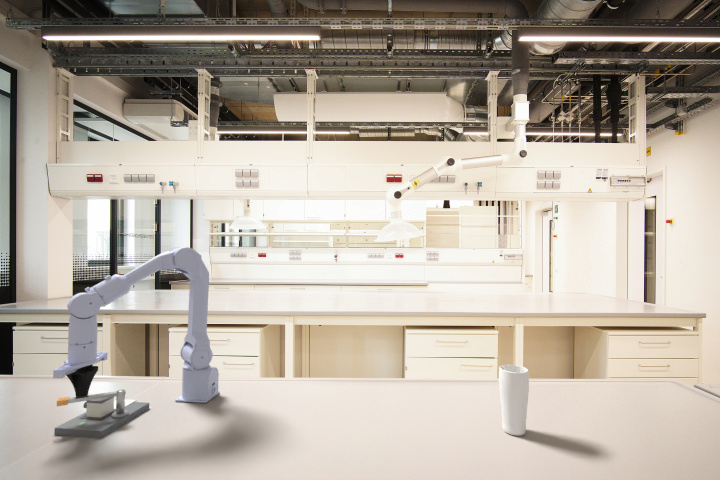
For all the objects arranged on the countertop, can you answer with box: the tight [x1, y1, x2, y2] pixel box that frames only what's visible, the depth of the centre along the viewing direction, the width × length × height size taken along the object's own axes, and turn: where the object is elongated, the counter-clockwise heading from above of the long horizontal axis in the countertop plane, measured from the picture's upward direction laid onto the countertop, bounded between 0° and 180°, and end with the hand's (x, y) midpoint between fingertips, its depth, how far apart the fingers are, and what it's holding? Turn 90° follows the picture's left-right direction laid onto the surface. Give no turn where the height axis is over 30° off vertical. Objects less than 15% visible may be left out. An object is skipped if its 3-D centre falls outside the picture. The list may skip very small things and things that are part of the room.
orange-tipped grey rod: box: [56, 389, 127, 414], centre depth 90 cm, size 14×2×5 cm, turn 118°
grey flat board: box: [53, 398, 150, 439], centre depth 94 cm, size 12×17×2 cm
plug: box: [82, 397, 115, 418], centre depth 94 cm, size 6×4×4 cm, turn 83°
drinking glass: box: [498, 364, 530, 437], centre depth 89 cm, size 7×7×15 cm
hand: (81, 398), depth 90 cm, fingers closed, pressing on orange-tipped grey rod
